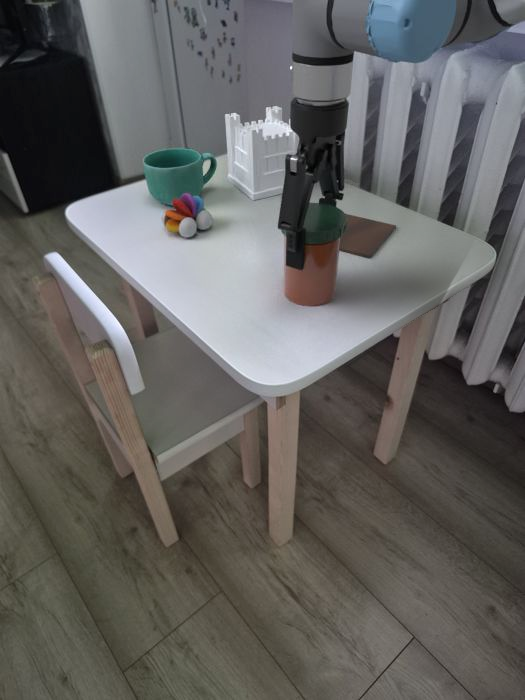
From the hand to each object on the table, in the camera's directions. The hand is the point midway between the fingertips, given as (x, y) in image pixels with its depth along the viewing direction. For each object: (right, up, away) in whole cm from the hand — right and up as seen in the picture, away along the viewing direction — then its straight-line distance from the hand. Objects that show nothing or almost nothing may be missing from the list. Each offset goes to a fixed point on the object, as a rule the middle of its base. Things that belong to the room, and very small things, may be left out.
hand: (310, 251), depth 76 cm
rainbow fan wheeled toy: (-23, +9, +23) cm, 34 cm away
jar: (0, -6, +5) cm, 7 cm away
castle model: (-7, +25, +40) cm, 47 cm away
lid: (0, +4, -4) cm, 6 cm away
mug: (-25, +19, +34) cm, 47 cm away
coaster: (+10, +8, +20) cm, 23 cm away
